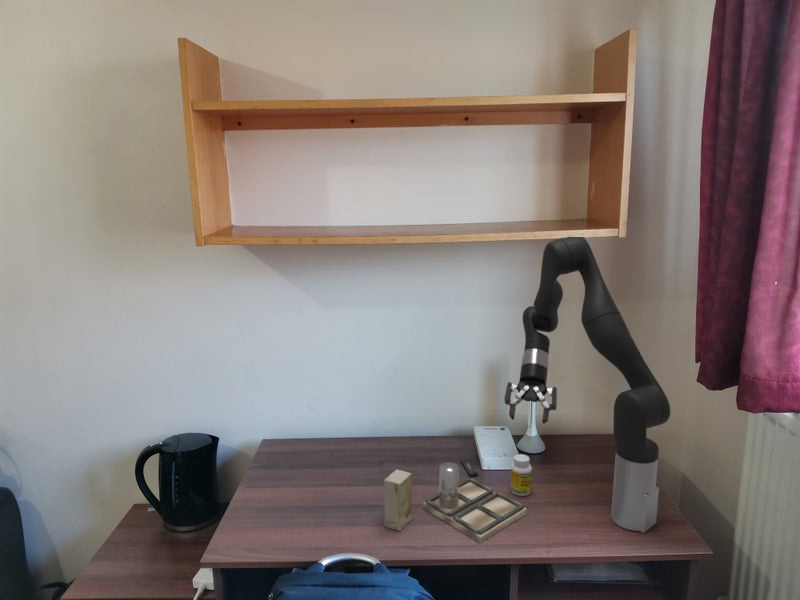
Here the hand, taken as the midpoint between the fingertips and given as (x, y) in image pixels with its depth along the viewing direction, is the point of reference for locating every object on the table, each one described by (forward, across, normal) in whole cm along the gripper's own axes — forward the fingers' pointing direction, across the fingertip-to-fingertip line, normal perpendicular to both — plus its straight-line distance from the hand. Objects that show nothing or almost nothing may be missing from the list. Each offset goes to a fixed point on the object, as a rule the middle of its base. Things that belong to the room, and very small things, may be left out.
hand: (528, 420), depth 162 cm
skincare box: (+35, -26, -14) cm, 46 cm away
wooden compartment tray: (+28, -10, -7) cm, 30 cm away
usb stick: (+14, -15, +8) cm, 22 cm away
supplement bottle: (+19, 0, +2) cm, 19 cm away
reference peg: (+28, -16, -9) cm, 33 cm away
